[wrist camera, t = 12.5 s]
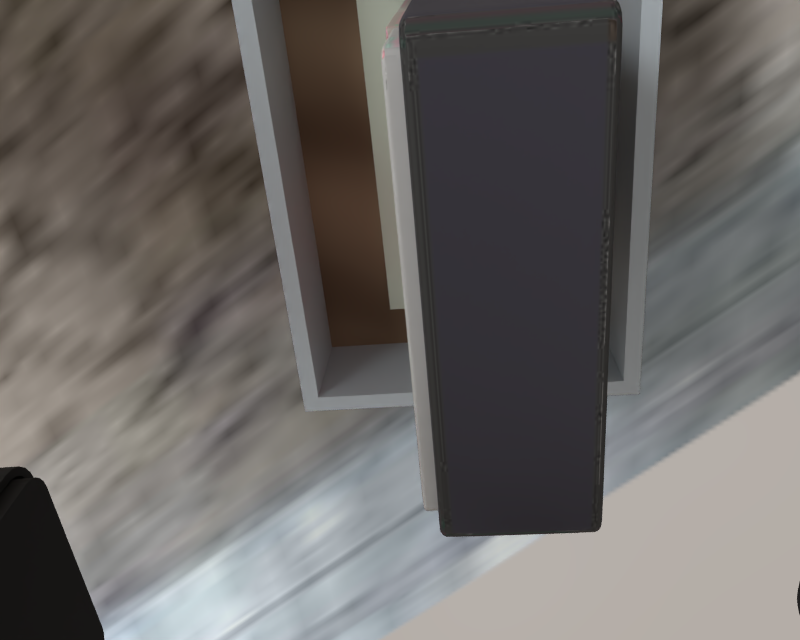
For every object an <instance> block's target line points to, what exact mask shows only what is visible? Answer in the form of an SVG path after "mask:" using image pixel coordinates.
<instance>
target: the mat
mask: <svg viewBox="0 0 800 640" xmlns="http://www.w3.org/2000/svg"><path fill="white" fill-rule="evenodd" d="M404 1H405V0H356V3H357V12H358V21H359V30H360V39H361V48H362V57H363V66H364V75H365V84H366V93H367V102H368V111H369V120H370V130H371V139H372V148H373V157H374V166H375V175H376V184H377V193H378V202H379V211H380V220H381V229H382V238H383V247H384V257H385V266H386V275H387V284H388V293H389V302H390V310H391V309H405V307H404V297H403V286H402V276H401V265H400V255H399V244H398V234H397V223H396V213H395V202H394V192H393V181H392V170H391V160H390V149H389V139H388V128H387V118H386V107H385V97H384V86H383V75H382V63H381V55H382V48H383V45H384V43H385V42H386V27H387V25H388V24H389V22H390V21H391V20H392V18H393V17H394V15H395V14H396V13H397V12H398V9H399V8H400V6H401V5H402V4H403V2H404Z"/></svg>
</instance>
